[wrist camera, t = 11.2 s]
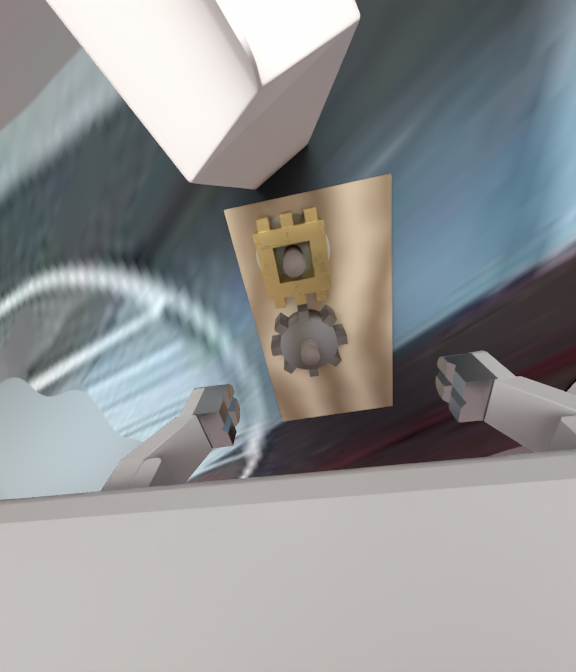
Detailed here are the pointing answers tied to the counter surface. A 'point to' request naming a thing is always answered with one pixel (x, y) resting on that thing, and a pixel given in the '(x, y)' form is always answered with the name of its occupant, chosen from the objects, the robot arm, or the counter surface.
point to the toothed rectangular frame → (286, 235)
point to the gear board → (327, 301)
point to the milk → (219, 75)
